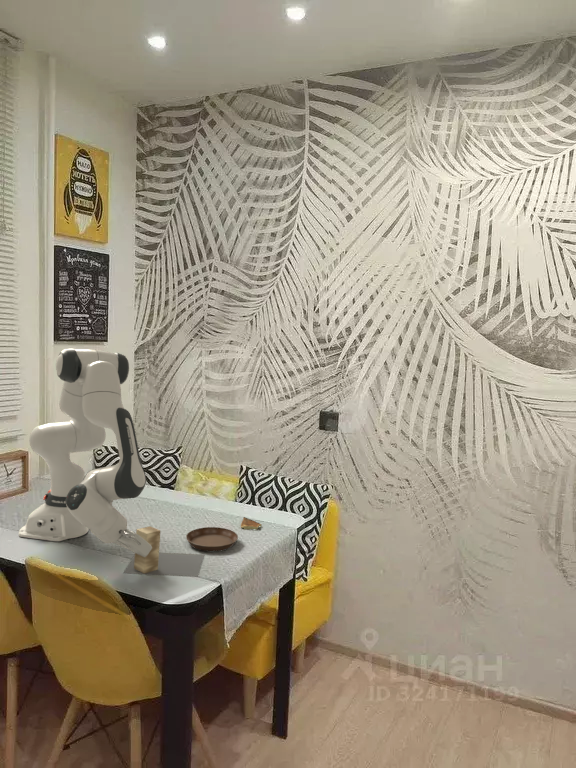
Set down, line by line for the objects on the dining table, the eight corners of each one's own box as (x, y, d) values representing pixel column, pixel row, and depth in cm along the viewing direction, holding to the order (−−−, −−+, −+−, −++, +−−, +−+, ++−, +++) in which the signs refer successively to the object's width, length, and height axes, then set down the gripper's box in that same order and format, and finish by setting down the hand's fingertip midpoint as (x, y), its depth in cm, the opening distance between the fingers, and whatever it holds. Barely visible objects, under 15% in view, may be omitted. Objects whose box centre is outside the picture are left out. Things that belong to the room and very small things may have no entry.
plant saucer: (215, 558, 195) (215, 549, 194) (174, 545, 204) (175, 536, 204) (247, 543, 209) (248, 535, 209) (208, 531, 219) (209, 523, 219)
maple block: (144, 573, 177) (146, 533, 176) (133, 568, 180) (136, 529, 179) (157, 569, 181) (160, 530, 180) (147, 564, 184) (150, 526, 183)
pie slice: (243, 520, 234) (243, 516, 234) (263, 522, 233) (263, 517, 233) (239, 530, 223) (240, 525, 223) (260, 531, 223) (260, 527, 222)
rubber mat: (122, 576, 177) (122, 573, 177) (136, 554, 194) (136, 551, 194) (197, 579, 177) (197, 576, 177) (204, 557, 194) (204, 554, 194)
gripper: (139, 526, 164) (167, 552, 172) (97, 508, 177) (125, 533, 185) (125, 546, 161) (153, 571, 169) (83, 526, 174) (112, 550, 182)
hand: (138, 551), depth 178 cm, fingers closed
